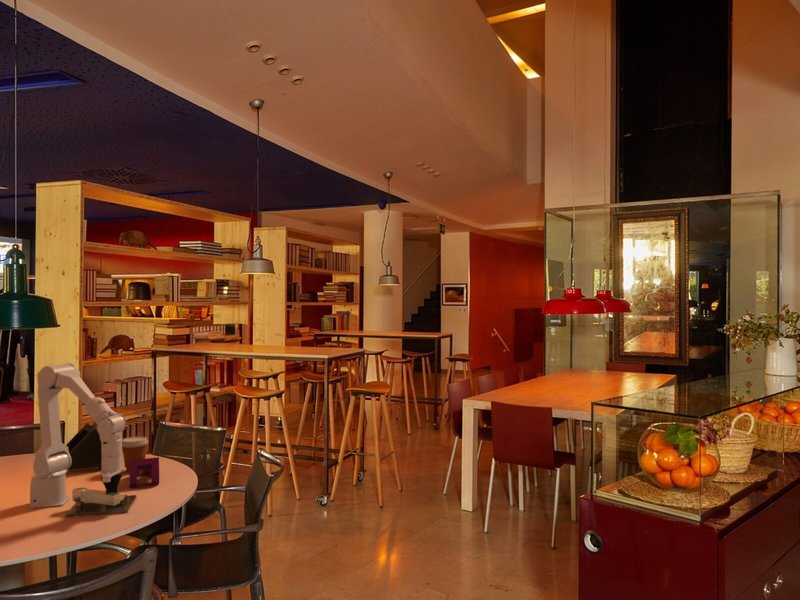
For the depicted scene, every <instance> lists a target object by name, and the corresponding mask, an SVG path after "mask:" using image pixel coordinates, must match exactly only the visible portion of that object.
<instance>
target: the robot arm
mask: <svg viewBox="0 0 800 600" xmlns="http://www.w3.org/2000/svg"><path fill="white" fill-rule="evenodd" d="M36 377H37V401H38V411H39V412H38V414H39V427H40V428H39V429H40V438H41V446H40V447H39V449H38V450H36V451H35V453H34V461H33V463H32V464H33V465H32V468H33V471H34V474H35V476H33V477H32V478H31V481H30V486H29V487H30V489H29V490H30V491H29V494H30V495H29V498H30V503H29V507H28V508H30V509H35V508H49V507H59V506H60V507H61V506H64V505H65V504H66V502H68V501H69V500H70V499H71V496H67V495H66V494H67V493H66V492H67V491H66V490H67V486H66V484H67V483H66V477H67V476H66V473H67V469H68V468H69V467H70V466H71V463H72V459H71V456H70V454H69V451H68V447H67V446H66V445H67V444H64V443H63V442H62V431H61V420H60V419H61V418H60V406H59V396H58V395H59V393H60V392H61V391H62V390H63V389H69V390H70V392H72V393H73V395H75V396H76V397H77V398H78V399H79V400H80V401H81V402H82V403H83V404H84V412H86V413H87V415H89V417H90V418H91V419H92V421H94V422H96V424H97V425H98V426H97V431H98V433H99V435H100V440H101V455H102V456H101V458H102V459H101V470H100V474H101V477H100V480H101V482H102V484H103V486H104V488H105V491H107V492H114V493H118V490H119V485H120V482H121V479H122V477H123V473H122V472H126V468H125V467H123V449H122V440H123V431H125V430H126V428H127V420H126V418H125V416H124V415H123V414H122V413H119V412H118V413H117V412H116V411H114V410H113V409H112V408H111V407H110V406H109V405H108V404H107V402H106V400H105V399H104V398H102V397H98V396H97V397H96V396H95V394H93V393H92V391H91V390H90V389H89V387H88V385H86V383H85V382H84V381H83V378H81V372H80V370H79V369H78V368H77V367H76V365H74V364H73V363H70V362H69V363H65V364H57V365H51V366H50V365H46V366H44V367H42V368H41V369H40V370H39V371H38V372H37V375H36ZM67 474H68V473H67Z"/></svg>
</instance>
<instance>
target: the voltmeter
mask: <svg viewBox="0 0 800 600" xmlns="http://www.w3.org/2000/svg"><path fill="white" fill-rule="evenodd" d="M97 426H98V425H97V424H96V422H95V421H94V422H93V423H92V424H89V423H88V422H87V423H86V424H85V425H84V426H82V428H81V429H79V431H78V432H76V434H74V436H73V437H72V438H71V439H70V440H69V441H68V442H67V443H66V444H65V445H66V446H67V447H68V451H69V454H70V456H71V459H72V463H71V466H70V467H69V468H68V469H67V474H69V473H70V471H77V470H78V471H79V470H89V469H90V470H91V469H97V471H101V459H102V458H101V456H102V455H101V440H100V435H99V433H98V431H97ZM68 472H69V473H68Z"/></svg>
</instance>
